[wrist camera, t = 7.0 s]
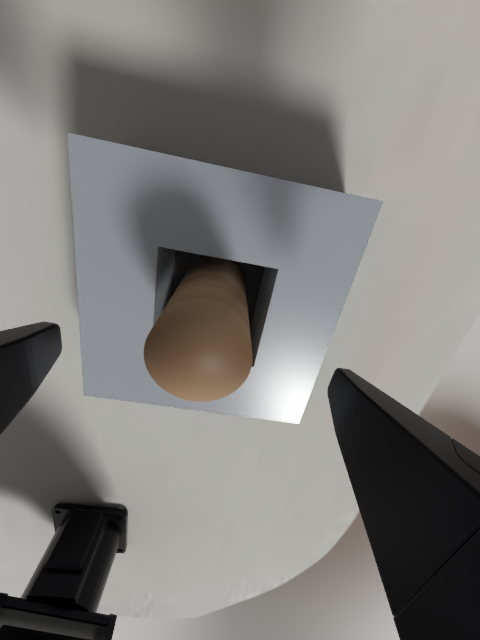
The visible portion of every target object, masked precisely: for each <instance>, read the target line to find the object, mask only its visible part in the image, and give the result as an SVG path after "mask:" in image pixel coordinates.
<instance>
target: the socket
mask: <svg viewBox="0 0 480 640" xmlns="http://www.w3.org/2000/svg"><path fill="white" fill-rule="evenodd" d="M67 138H68V154H69V169H70V185H71V201H72V216H73V232H74V248H75V263H76V279H77V295H78V310H79V326H80V342H81V357H82V373H83V389H84V395H86V396H93V397H101V398H108V399H116V400H123V401H131V402H138V403H146V404H153V405H161V406H168V407H176V408H183V409H191V410H198V411H206V412H213V413H221V414H228V415H236V416H243V417H250V418H258V419H265V420H273V421H280V422H288V423H295V424H299V423H300V420H301V417H302V415H303V412H304V409H305V407H306V404H307V401H308V399H309V396H310V394H311V391H312V388H313V386H314V383H315V380H316V378H317V375H318V372H319V370H320V367H321V364H322V362H323V359H324V356H325V354H326V351H327V349H328V346H329V343H330V341H331V338H332V335H333V333H334V330H335V327H336V325H337V322H338V319H339V317H340V314H341V311H342V309H343V306H344V304H345V301H346V298H347V296H348V293H349V290H350V288H351V285H352V282H353V280H354V277H355V274H356V272H357V269H358V266H359V264H360V261H361V259H362V256H363V253H364V251H365V248H366V245H367V243H368V240H369V237H370V235H371V232H372V229H373V227H374V224H375V222H376V219H377V216H378V214H379V211H380V208H381V206H382V203H383V201H379V200H374V199H370V198H365V197H361V196H356V195H352V194H347V193H342V192H338V191H333V190H329V189H324V188H320V187H315V186H310V185H306V184H301V183H297V182H292V181H288V180H283V179H278V178H274V177H269V176H265V175H260V174H256V173H251V172H246V171H242V170H237V169H233V168H228V167H223V166H219V165H214V164H210V163H205V162H201V161H196V160H191V159H187V158H182V157H178V156H173V155H169V154H164V153H159V152H155V151H150V150H146V149H141V148H137V147H132V146H127V145H123V144H118V143H114V142H109V141H105V140H100V139H95V138H91V137H86V136H82V135H77V134H73V133H68V132H67ZM175 250H179V251H184V252H190V253H195V254H200V255H206V256H211V257H216V258H222V259H227V260H232V261H238V262H243V263H249V264H254V265H259V266H265V269H264V273H263V277H262V282H261V286H260V290H259V294H258V299H257V303H256V307H255V312H254V316H253V320H252V325H251V329H250V337H251V347H252V367H251V370H250V373H249V375H248V377H247V379H246V380H245V382H244V383H243V384H242V385H241V386H240V387H239V388H238V389H237V390H236V391H234V392H233V393H231V394H230V395H228V396H226V397H223V398H220V399H217V400H213V401H206V402H197V401H189V400H185V399H181V398H178V397H176V396H173V395H172V394H170V393H168V392H166V391H165V390H164V389H162V388H161V387H160V386H159V385H158V384H157V383H156V382H155V381H154V380H153V379H152V377H151V376H150V374H149V372H148V370H147V368H146V365H145V361H144V345H145V341H146V338H147V336H148V334H149V332H150V331H151V329H152V328H153V326H154V324H155V323H156V321H157V320H158V318H159V316H160V315H161V313H162V312H163V310H164V308H165V307H166V305H167V303H168V302H169V300H170V299H171V292H172V281H173V270H174V259H175Z"/></svg>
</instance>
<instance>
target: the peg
mask: <svg viewBox="0 0 480 640" xmlns="http://www.w3.org/2000/svg"><path fill="white" fill-rule="evenodd" d="M144 361H145V365H146V368H147V370H148V372H149V374H150V376H151V377H152V379H153V380H154V381H155V382H156V383H157V384H158V385H159V386H160V387H161V388H162V389H164V390H165V391H166V392H168V393H170V394H172V395H173V396H176V397H178V398H181V399H185V400H189V401H197V402H206V401H213V400H217V399H220V398H223V397H226V396H228V395H230V394H231V393H233V392H234V391H236V390H237V389H238V388H239V387H240V386H241V385H242V384H243V383H244V382H245V380H246V379H247V377H248V375H249V373H250V370H251V367H252V347H251V337H250V327H249V317H248V307H247V297H246V287H245V279H244V276H243V273H242V271H241V270H240V268H239V267H238V266H237V265H236V264H235V263H234V262H233V261H232V260H227V259H222V258H216V257H211V256H205V257H203V258H200V259H199V260H197V261H196V262H194V263H193V264H192V265H191V267H190V268H189V270H188V271H187V273H186V274H185V276H184V278H183V279H182V281H181V283H180V284H179V286H178V287H177V289H176V291H175V292H174V294H173V295H172V297H171V299H170V300H169V302H168V303H167V305H166V307H165V308H164V310H163V312H162V313H161V315H160V316H159V318H158V320H157V321H156V323H155V324H154V326H153V328H152V329H151V331H150V332H149V334H148V336H147V338H146V341H145V345H144Z"/></svg>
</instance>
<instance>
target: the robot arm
mask: <svg viewBox="0 0 480 640" xmlns="http://www.w3.org/2000/svg"><path fill="white" fill-rule="evenodd" d="M61 350H62V342H61V332H60V327H59V325H57V324H55V323H49V322H40V323H35V324H31V325H26V326H22V327H17V328H13V329H8V330H4V331H0V435H1V434H2V432H3V431H4V430H5V429H6V428H7V426H8V425H9V424H10V423H11V422H12V420H13V419H14V418H15V417H16V415H17V414H18V413H19V412H20V411H21V409H22V408H23V407H24V406H25V405H26V403H27V402H28V401H29V400H30V398H31V397H32V396H33V394H34V393H35V392H36V390H37V389H38V387H39V386H40V384H41V383H42V381H43V380H44V378H45V377H46V375H47V374H48V372H49V371H50V369H51V368H52V366H53V365H54V363H55V361H56V360H57V358H58V357H59V355H60V353H61ZM328 398H329V403H330V408H331V413H332V418H333V423H334V428H335V433H336V436H337V440H338V443H339V446H340V449H341V453H342V456H343V459H344V462H345V465H346V469H347V472H348V475H349V478H350V481H351V484H352V488H353V491H354V494H355V497H356V500H357V503H358V507H359V510H360V513H361V516H362V519H363V522H364V526H365V529H366V532H367V535H368V538H369V541H370V545H371V548H372V551H373V554H374V557H375V561H376V564H377V567H378V570H379V573H380V576H381V580H382V583H383V586H384V589H385V592H386V596H387V599H388V602H389V605H390V608H391V611H392V614H393V616H394V622H395V625H396V628H397V631H398V634H399V638H400V640H480V456H479V455H477V454H475V453H474V452H473V451H471V450H469V449H468V448H466V447H465V446H463V445H462V444H460V443H459V442H457V441H456V440H454V439H451V438H450V436H448V435H447V434H445V433H444V432H442V431H441V430H439V429H438V428H436V427H435V426H433V425H432V424H430V423H429V422H427V421H426V420H424V419H423V418H421V417H420V416H418V415H417V414H415V413H414V412H412V411H411V410H409V409H408V408H406V407H405V406H403V405H402V404H400V403H399V402H397V401H396V400H394V399H393V398H391V397H390V396H388V395H387V394H385V393H384V392H382V391H381V390H379V389H378V388H376V387H375V386H373V385H372V384H370V383H369V382H367V381H366V380H364V379H363V378H361V377H360V376H358V375H357V374H355V373H354V372H352V371H351V370H349V369H343V368H337V369H336V370H335V372H334V374H333V376H332V379H331V381H330V384H329V386H328ZM52 515H53V521H54V527H55V535H54V536H53V538H52V540H51V542H50V544H49V546H48V548H47V550H46V551H45V553H44V555H43V557H42V559H41V561H40V563H39V565H38V567H37V568H36V570H35V572H34V574H33V576H32V578H31V580H30V582H29V584H28V585H27V587H26V589H25V591H24V593H23V595H22V597H21V598H17V597H12V596H8V594H6V593H0V640H111V639H112V635H113V630H114V626H115V622H116V617H117V615H114V614H110V615H105V614H100V613H96V611H97V608H98V605H99V602H100V599H101V596H102V593H103V590H104V587H105V584H106V581H107V578H108V575H109V572H110V569H111V566H112V563H113V560H114V557H115V554H116V553H124V552H125V550H126V547H127V521H128V513H127V512H126V511H125V510H117V509H107V508H97V507H86V506H76V505H66V504H56V505H55V506H54V508H53V510H52Z"/></svg>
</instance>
